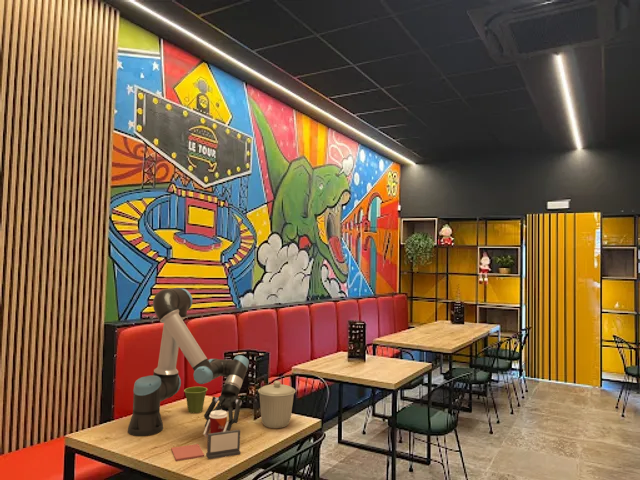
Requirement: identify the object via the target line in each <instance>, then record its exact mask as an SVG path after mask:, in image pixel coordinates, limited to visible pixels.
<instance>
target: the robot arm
mask: <svg viewBox="0 0 640 480" xmlns="http://www.w3.org/2000/svg"><path fill="white" fill-rule="evenodd" d="M192 305H193V296H192V294H191V292H190V291H188V289H186V288H180V287H174V288H164V289H162V290H159V291H157V293H156V294H155V295H154V297H153V300H152V307H153V310H154V313H155V315H156V318H157V319H158V320H159V322H160V323H163V327H162V333H161V334H162V335H161V341H160V348H159V355H158V363H157V367H156V368H154V369H153V375H146V376H142V377H139V378H138V379H136V380H135V382H134V385H133V396H132V397H133V399H132V415H131V418H130V421H129V423H128V426H127V433H128V434H129V435H131V436H136V437H146V436H147V437H148V436H152V435H156V434H158V433H161V432H162V431H163V430H164V423H163V419H162V416H161V413H160V412H161V410H160V409H161V402H163V401H165V400H167V399H169V398H173V396H174V395H176V394H178V392H179V391H180V389H181V384H182V380H181V377H180V375H179V370H178V369H177V363H178V355H179V349H180V351H181V352H182V354H183V356H184V358H186V360H187V362H188V363H189V365H190V366H191V369H193V379H194V381H195V383H197V384H199V385H204V384H208V383H211V381H213V380H215V379H217V378H219V377H226V380H225V382H224V385H223V388H222V390H221V393H220V395H219V396H218V397H215V396H212V399H211V402H210V404H209V406H208V407H207V410H206V411H205V413H204V415H203V417H204V419H205V421H206V422H205V424H204V427H205V428H204V431H203V433H202V434H203V436H204V437H205V438H208V434H210V417H209V415H210V413H211V412H212V411H215V410H223V408H225V409H226V408H227V409H228V410H227V411H228V412H227V413H228V421H226V425H225V428H224V431H223V432H225V431H231V429H232V426H233V424H238V422H239V417H240V416H239V415H240V411H241V406H242V404H243V402H242V400H241V399H238V397H239V394H240V390H241V388H242V385H243V382H244V379H245V377H246V374H247V372H248V368H249V364H250V361H249V359H248V358H247V356H246V357H245V356H244V355H240V354H239V355H236V356H235V357H234V358H233V359H220V358H219V359H218V358H209V359H208V357H207V356H206V354H205V353H204V351H203V350H202V348H201V346H200V345H199V344H198V342H197V340H196V339H195V337H194V335H193V334H192V333H191V331H190V329H189V328H188V326H187V324H186V323H185V321H184V320H185V319H186V318H187V316H188V315H187V313H188V311H189V309H190V308H191V307H192ZM234 405H235V407H234V408H235V410H234V412H233V406H234ZM233 413H234V414H233Z"/></svg>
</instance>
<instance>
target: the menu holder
mask: <svg viewBox="0 0 640 480" xmlns="http://www.w3.org/2000/svg"><path fill="white" fill-rule="evenodd" d="M206 441H207V443H206V446H207V447H206V455H205V456H206V458H207V459H208V460H211V459H219V458H220V459H221V458H226V457H231V456H237V455H238V456H239V455H240V454H241V448H240V447H241V442H240V441H241V430H240V429H234V430H230V431H225V432H218V433H210V432H209V433H208V436H207V440H206ZM225 456H226V457H225Z"/></svg>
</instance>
